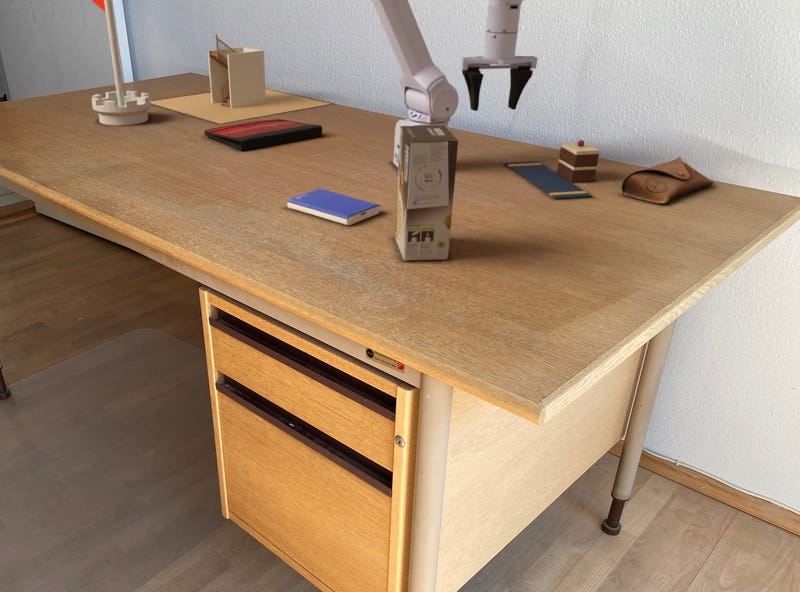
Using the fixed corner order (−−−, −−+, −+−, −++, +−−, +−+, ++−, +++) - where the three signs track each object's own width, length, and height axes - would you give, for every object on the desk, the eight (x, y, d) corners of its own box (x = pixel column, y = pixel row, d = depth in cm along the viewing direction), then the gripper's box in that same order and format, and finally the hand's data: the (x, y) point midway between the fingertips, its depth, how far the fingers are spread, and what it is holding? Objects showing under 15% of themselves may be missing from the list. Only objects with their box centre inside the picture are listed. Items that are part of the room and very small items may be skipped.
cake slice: (571, 182, 132) (577, 144, 129) (556, 173, 137) (562, 136, 134) (594, 181, 133) (601, 143, 130) (578, 172, 138) (584, 135, 135)
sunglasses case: (667, 203, 121) (655, 164, 120) (628, 215, 126) (617, 178, 126) (716, 182, 131) (706, 146, 130) (679, 194, 137) (668, 160, 136)
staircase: (211, 103, 191) (205, 33, 182) (245, 97, 197) (242, 29, 189) (231, 108, 185) (226, 36, 177) (265, 102, 192) (263, 33, 183)
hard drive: (287, 199, 118) (347, 216, 111) (321, 187, 123) (380, 203, 116) (287, 208, 119) (346, 226, 112) (321, 196, 124) (380, 213, 117)
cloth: (555, 199, 124) (555, 197, 124) (504, 164, 142) (505, 162, 142) (591, 197, 125) (591, 195, 125) (536, 162, 144) (536, 160, 143)
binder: (322, 124, 159) (240, 139, 148) (322, 135, 161) (241, 151, 149) (278, 115, 170) (199, 128, 159) (279, 125, 172) (200, 139, 160)
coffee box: (449, 260, 100) (460, 140, 92) (403, 261, 100) (409, 141, 92) (436, 236, 108) (445, 123, 100) (392, 237, 108) (398, 124, 100)
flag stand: (164, 118, 175) (148, -25, 160) (122, 129, 165) (102, -23, 150) (124, 111, 181) (106, -27, 166) (82, 121, 171) (59, -25, 156)
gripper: (471, 34, 130) (464, 114, 137) (548, 33, 132) (537, 112, 139) (458, 30, 136) (451, 106, 143) (532, 29, 138) (522, 104, 145)
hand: (493, 109), depth 141 cm, fingers open, 7 cm apart
